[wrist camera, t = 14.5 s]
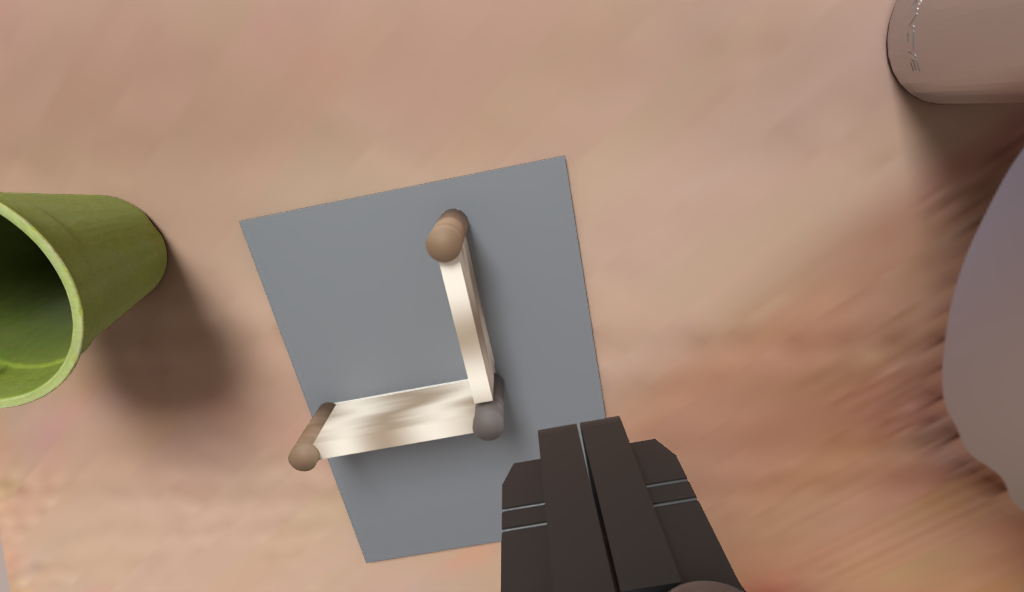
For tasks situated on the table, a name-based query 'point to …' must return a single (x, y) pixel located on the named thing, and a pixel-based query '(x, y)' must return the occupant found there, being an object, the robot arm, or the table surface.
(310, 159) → the table surface
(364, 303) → the card
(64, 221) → the plant pot
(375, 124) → the table surface
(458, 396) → the swinging fence section
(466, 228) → the fixed fence section
